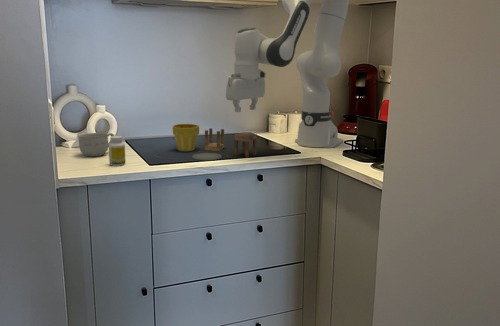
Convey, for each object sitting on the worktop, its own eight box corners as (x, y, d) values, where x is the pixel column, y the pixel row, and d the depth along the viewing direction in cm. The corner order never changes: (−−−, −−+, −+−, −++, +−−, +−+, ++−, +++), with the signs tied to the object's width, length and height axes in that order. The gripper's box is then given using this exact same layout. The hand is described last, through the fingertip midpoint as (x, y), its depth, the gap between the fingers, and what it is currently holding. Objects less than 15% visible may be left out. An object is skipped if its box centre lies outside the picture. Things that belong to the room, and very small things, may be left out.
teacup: (83, 159, 182) (82, 137, 180) (75, 153, 190) (74, 133, 188) (121, 155, 189) (120, 134, 187) (111, 150, 198) (110, 130, 196)
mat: (205, 152, 195) (205, 151, 195) (227, 156, 189) (227, 155, 189) (186, 157, 186) (186, 156, 186) (208, 162, 180) (208, 160, 180)
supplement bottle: (128, 164, 175) (127, 136, 173) (115, 167, 171) (113, 138, 169) (119, 161, 179) (118, 134, 176) (106, 164, 175) (104, 136, 172)
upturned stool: (210, 147, 205) (210, 128, 204) (224, 148, 204) (224, 129, 202) (205, 150, 200) (204, 130, 198) (219, 151, 198) (219, 131, 196)
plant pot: (194, 153, 194) (194, 128, 192) (169, 151, 196) (168, 127, 194) (202, 147, 204) (202, 124, 202) (178, 146, 206) (177, 122, 204)
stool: (243, 152, 196) (243, 132, 194) (256, 154, 193) (256, 134, 191) (234, 155, 191) (234, 134, 189) (247, 157, 188) (247, 136, 186)
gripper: (236, 74, 175) (235, 114, 178) (268, 73, 191) (267, 109, 194) (221, 73, 178) (221, 112, 181) (254, 72, 195) (253, 107, 198)
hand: (245, 110), depth 188 cm, fingers open, 8 cm apart
